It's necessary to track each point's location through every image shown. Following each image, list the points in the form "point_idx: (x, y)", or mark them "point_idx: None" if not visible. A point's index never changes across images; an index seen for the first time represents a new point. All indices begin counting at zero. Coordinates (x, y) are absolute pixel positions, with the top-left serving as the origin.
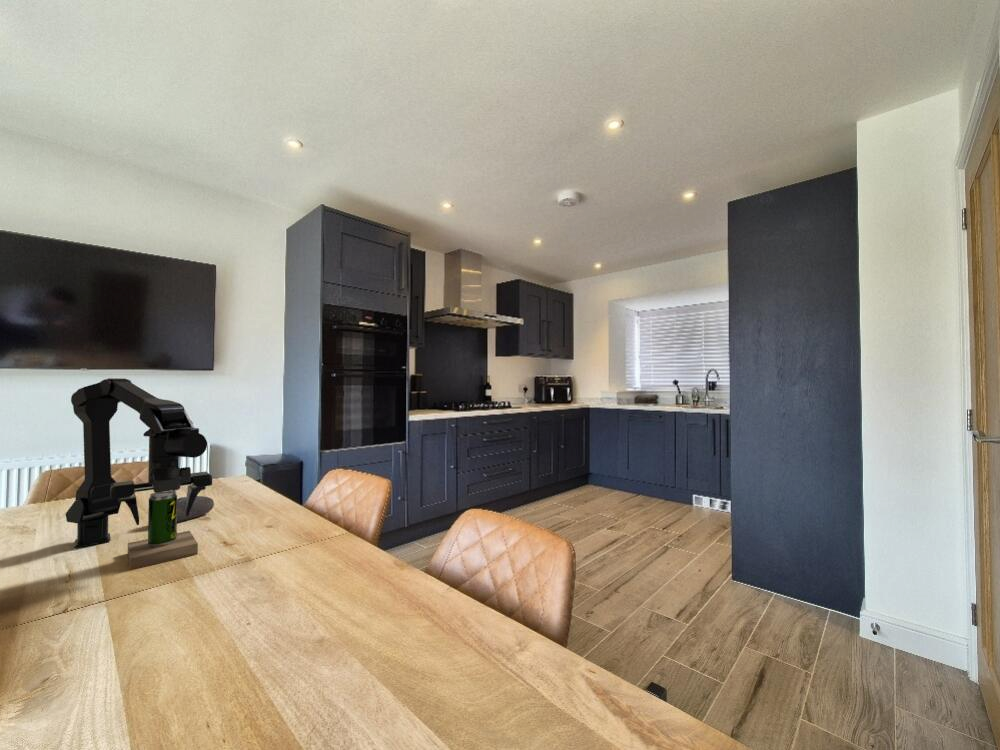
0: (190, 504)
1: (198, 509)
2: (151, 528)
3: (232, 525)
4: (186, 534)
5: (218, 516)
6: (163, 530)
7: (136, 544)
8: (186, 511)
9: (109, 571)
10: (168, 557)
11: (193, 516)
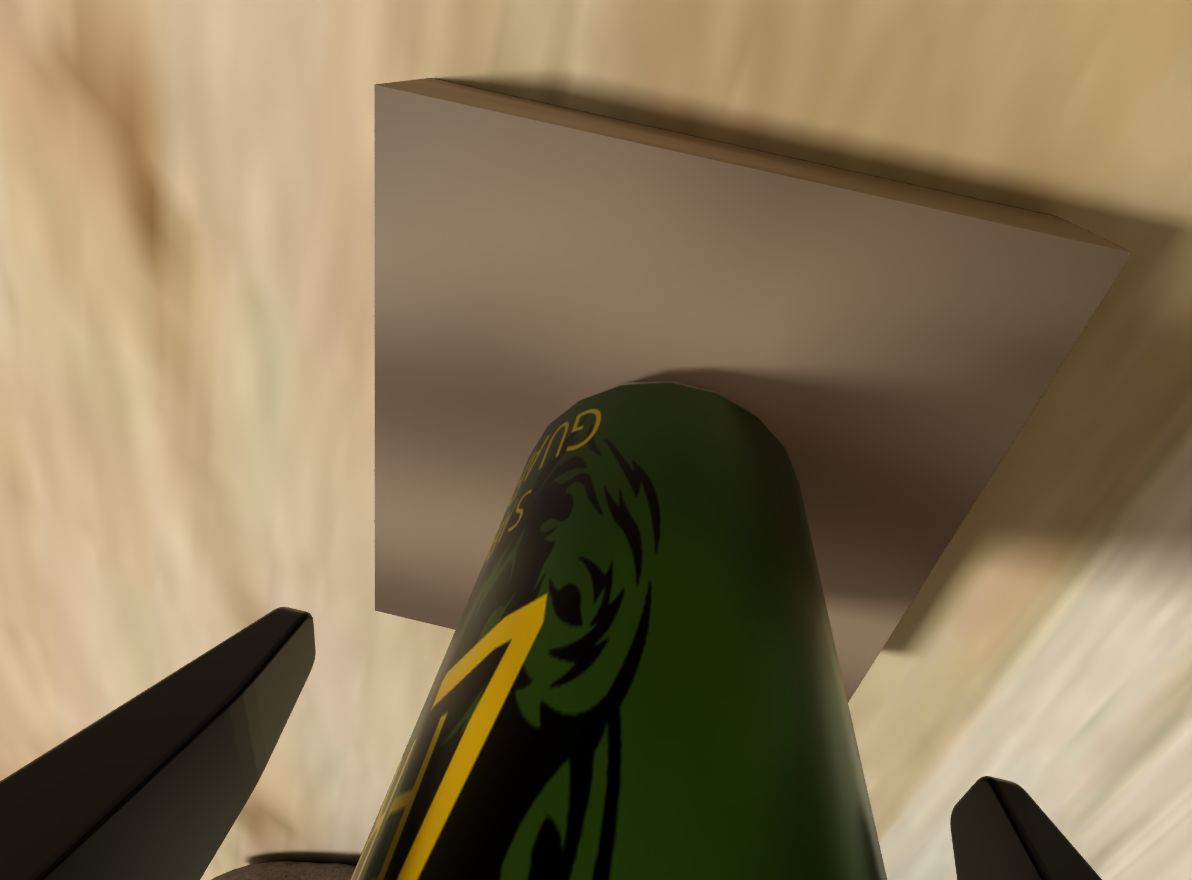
0: (55, 793)
1: None
2: (827, 618)
3: (97, 590)
4: (416, 538)
5: None
6: (696, 490)
7: None
8: (251, 681)
9: (1160, 363)
10: (716, 146)
11: (311, 871)
